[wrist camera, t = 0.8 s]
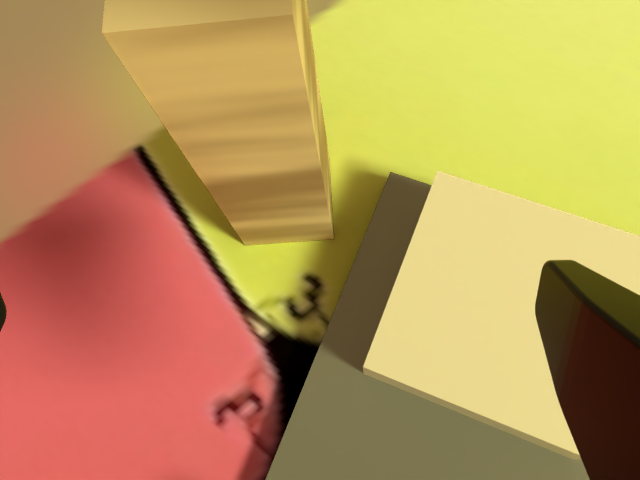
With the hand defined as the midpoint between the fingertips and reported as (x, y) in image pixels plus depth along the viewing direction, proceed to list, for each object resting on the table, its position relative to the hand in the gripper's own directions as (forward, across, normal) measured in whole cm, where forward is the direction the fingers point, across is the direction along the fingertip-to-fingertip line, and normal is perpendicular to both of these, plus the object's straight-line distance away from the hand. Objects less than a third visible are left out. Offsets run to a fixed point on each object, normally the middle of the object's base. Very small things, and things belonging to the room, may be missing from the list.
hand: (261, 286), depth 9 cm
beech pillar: (+15, +1, +6) cm, 16 cm away
